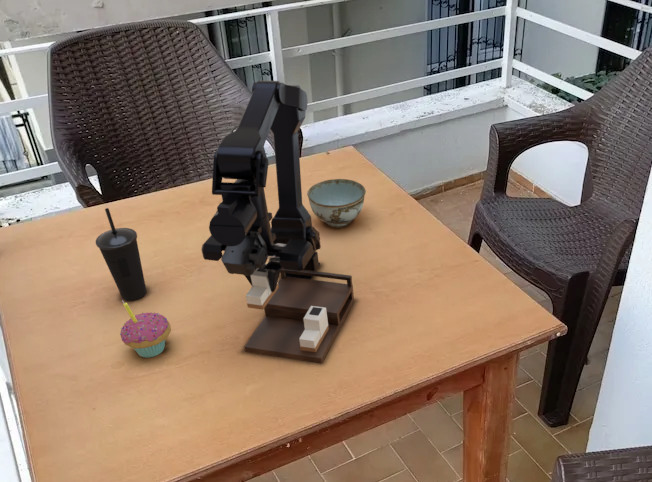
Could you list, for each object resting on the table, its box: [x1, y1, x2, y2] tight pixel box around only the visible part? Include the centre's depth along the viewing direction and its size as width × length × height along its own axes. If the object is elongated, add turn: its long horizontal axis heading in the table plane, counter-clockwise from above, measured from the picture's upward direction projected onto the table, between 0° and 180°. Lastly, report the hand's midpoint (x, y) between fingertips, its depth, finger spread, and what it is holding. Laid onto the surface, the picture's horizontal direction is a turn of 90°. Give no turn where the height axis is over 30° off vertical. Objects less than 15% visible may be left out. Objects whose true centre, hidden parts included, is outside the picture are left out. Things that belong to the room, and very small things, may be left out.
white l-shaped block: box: [245, 263, 279, 311], centre depth 123 cm, size 7×3×5 cm, turn 167°
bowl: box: [306, 178, 367, 228], centre depth 163 cm, size 14×13×8 cm
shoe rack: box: [244, 268, 355, 364], centre depth 131 cm, size 15×19×6 cm
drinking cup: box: [95, 207, 147, 302], centre depth 136 cm, size 8×8×20 cm
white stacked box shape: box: [299, 306, 329, 352], centre depth 126 cm, size 7×3×5 cm, turn 167°
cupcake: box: [119, 299, 172, 359], centre depth 124 cm, size 9×8×12 cm
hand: (264, 289), depth 125 cm, fingers closed on white l-shaped block, 3 cm apart
